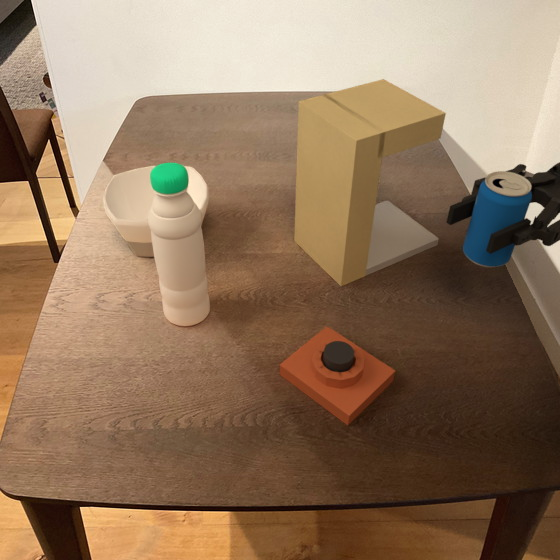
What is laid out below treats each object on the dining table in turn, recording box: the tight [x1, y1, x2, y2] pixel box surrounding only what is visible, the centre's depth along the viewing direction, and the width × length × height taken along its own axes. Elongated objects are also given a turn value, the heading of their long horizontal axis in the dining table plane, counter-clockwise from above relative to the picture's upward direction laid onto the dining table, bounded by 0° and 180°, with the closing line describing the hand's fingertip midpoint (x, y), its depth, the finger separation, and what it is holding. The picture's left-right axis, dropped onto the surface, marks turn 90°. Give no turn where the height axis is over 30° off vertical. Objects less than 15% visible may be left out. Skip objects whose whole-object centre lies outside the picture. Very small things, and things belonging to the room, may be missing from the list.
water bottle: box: [148, 162, 211, 327], centre depth 80 cm, size 7×7×25 cm
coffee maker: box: [293, 78, 447, 287], centre depth 93 cm, size 14×21×26 cm, turn 122°
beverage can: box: [462, 170, 532, 268], centre depth 77 cm, size 6×6×12 cm
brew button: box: [323, 341, 354, 372], centre depth 76 cm, size 4×4×2 cm
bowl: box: [102, 165, 210, 258], centre depth 100 cm, size 18×18×9 cm
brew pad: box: [279, 326, 396, 426], centre depth 78 cm, size 12×10×4 cm
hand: (470, 229), depth 75 cm, fingers closed on beverage can, 6 cm apart
